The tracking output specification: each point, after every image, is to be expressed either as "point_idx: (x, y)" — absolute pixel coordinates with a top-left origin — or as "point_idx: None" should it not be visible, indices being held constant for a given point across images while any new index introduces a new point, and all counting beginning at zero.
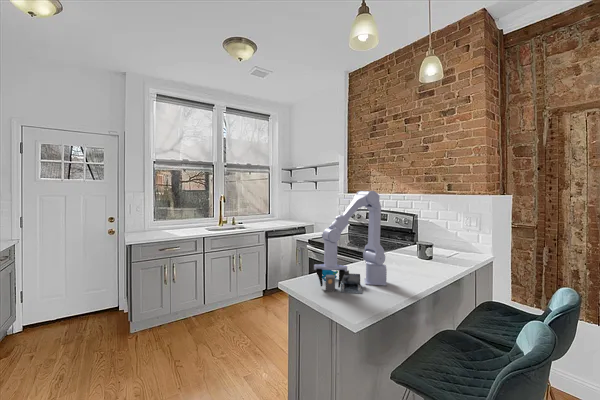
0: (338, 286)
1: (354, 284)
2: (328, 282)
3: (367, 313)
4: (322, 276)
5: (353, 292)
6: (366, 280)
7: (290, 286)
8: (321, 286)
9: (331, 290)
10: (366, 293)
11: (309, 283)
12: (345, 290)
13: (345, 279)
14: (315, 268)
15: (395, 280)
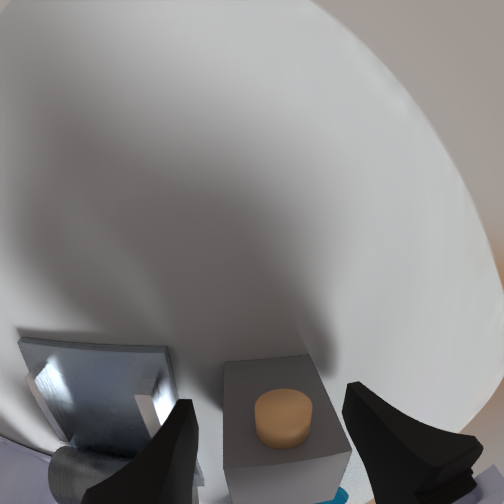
0: (188, 404)
1: (97, 453)
2: (303, 397)
3: (13, 12)
4: (335, 498)
5: (65, 345)
6: None
7: (500, 342)
8: (354, 383)
9: (255, 364)
10: (7, 344)
11: None
12: (126, 370)
13: None
14: (489, 481)
15: None
